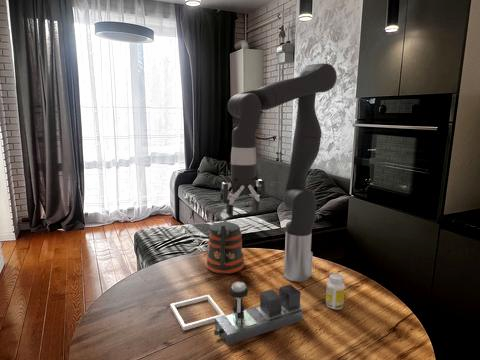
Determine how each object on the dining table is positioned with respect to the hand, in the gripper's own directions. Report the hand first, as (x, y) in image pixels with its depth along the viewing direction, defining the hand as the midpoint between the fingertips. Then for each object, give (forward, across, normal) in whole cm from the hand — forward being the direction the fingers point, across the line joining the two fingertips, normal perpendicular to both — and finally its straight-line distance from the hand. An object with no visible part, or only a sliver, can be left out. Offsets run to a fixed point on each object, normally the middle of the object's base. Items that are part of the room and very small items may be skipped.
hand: (242, 214), depth 105 cm
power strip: (+28, +2, +15) cm, 32 cm away
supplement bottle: (+28, -24, +17) cm, 41 cm away
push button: (+25, +9, +15) cm, 30 cm away
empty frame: (+28, +16, +2) cm, 32 cm away
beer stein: (+28, -4, -21) cm, 36 cm away
